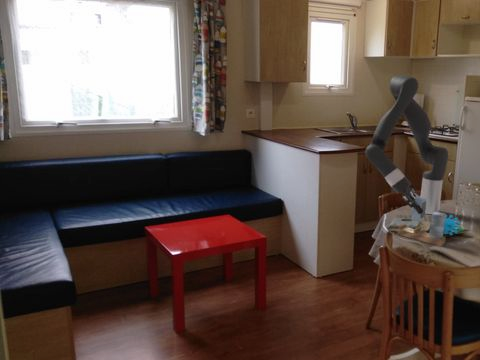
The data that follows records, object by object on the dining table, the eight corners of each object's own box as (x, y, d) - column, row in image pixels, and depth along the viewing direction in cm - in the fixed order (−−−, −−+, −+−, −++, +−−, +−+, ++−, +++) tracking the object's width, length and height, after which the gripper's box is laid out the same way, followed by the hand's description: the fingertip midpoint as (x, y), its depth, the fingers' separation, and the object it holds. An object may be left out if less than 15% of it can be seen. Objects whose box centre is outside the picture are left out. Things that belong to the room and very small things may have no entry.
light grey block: (414, 217, 198) (417, 195, 195) (424, 219, 195) (427, 197, 193) (411, 219, 195) (413, 197, 193) (420, 221, 192) (423, 199, 190)
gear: (432, 229, 191) (439, 210, 195) (431, 235, 196) (438, 216, 200) (460, 238, 186) (466, 218, 190) (458, 244, 191) (465, 224, 194)
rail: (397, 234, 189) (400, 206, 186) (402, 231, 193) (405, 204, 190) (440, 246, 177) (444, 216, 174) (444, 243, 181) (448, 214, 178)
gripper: (400, 179, 189) (426, 211, 185) (408, 172, 200) (433, 202, 197) (386, 189, 193) (412, 220, 190) (395, 182, 204) (419, 211, 201)
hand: (423, 211), depth 193 cm, fingers closed on light grey block, 4 cm apart
